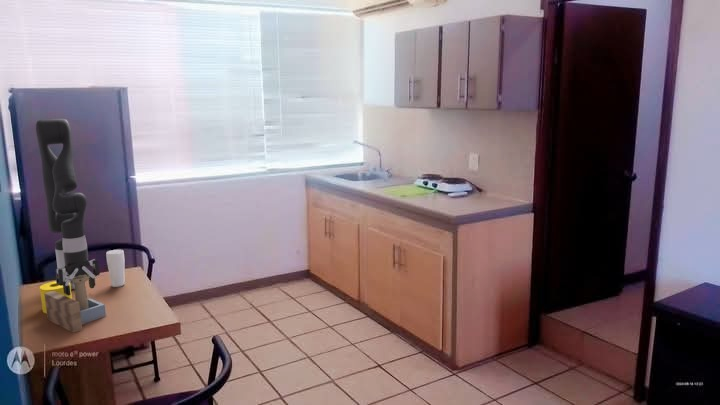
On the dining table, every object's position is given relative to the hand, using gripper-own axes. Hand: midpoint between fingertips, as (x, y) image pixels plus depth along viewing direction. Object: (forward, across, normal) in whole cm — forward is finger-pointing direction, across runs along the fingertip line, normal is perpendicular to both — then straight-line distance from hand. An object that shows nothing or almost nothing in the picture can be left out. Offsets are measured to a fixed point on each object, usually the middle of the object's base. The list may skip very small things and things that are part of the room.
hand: (80, 291), depth 189 cm
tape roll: (+10, +2, -16) cm, 19 cm away
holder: (+10, 0, 0) cm, 11 cm away
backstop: (+10, +7, +1) cm, 12 cm away
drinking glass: (+10, -25, -21) cm, 34 cm away
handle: (+10, 0, 0) cm, 10 cm away
